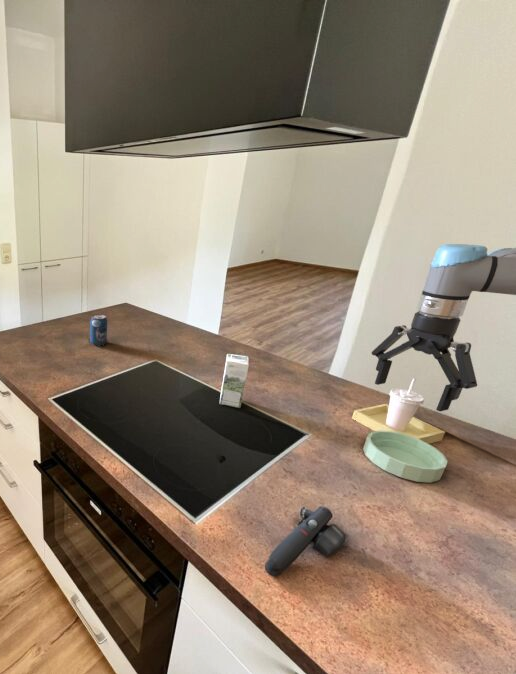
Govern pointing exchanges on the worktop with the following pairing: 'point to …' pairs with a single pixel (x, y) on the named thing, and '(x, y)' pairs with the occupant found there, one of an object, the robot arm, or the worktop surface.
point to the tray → (377, 421)
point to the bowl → (405, 456)
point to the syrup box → (234, 380)
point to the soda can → (98, 329)
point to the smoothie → (402, 407)
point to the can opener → (306, 540)
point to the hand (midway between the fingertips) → (408, 395)
